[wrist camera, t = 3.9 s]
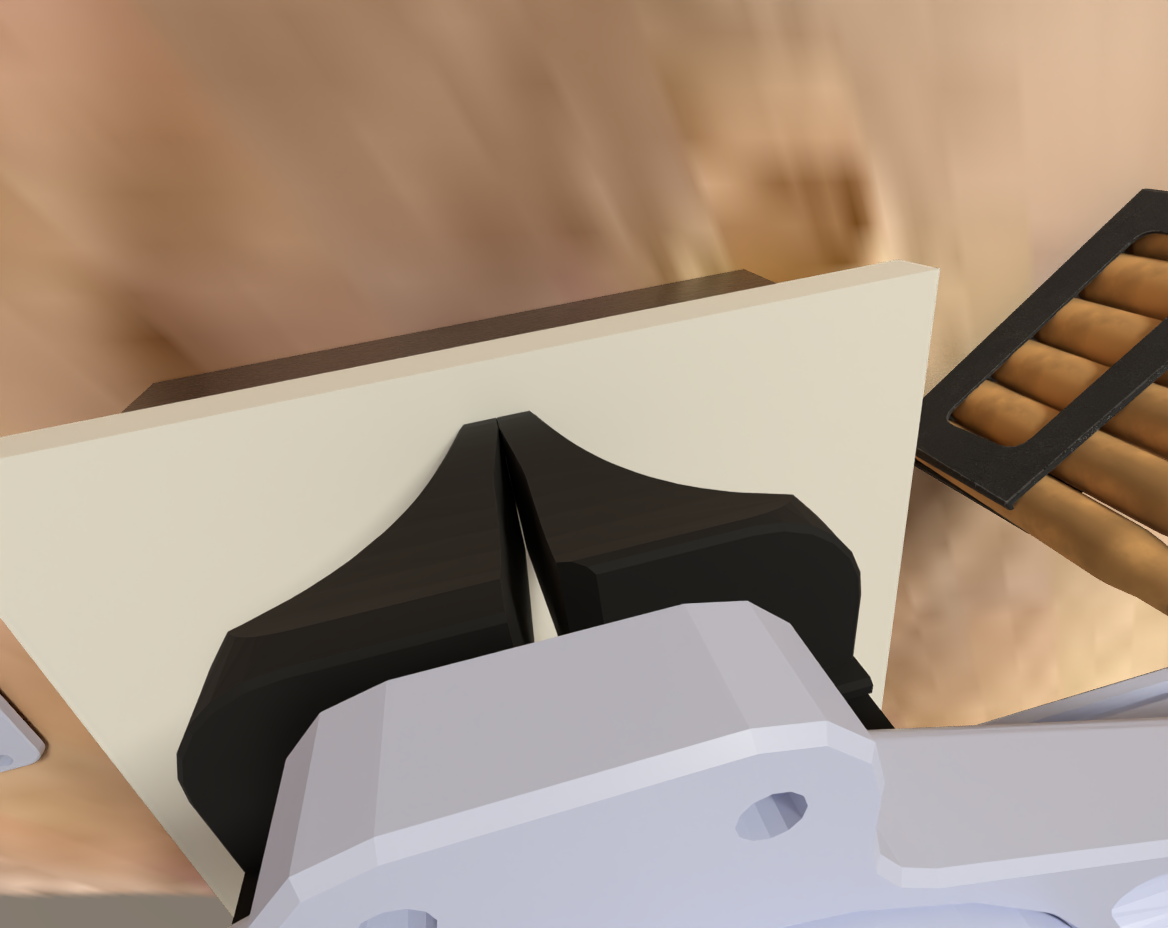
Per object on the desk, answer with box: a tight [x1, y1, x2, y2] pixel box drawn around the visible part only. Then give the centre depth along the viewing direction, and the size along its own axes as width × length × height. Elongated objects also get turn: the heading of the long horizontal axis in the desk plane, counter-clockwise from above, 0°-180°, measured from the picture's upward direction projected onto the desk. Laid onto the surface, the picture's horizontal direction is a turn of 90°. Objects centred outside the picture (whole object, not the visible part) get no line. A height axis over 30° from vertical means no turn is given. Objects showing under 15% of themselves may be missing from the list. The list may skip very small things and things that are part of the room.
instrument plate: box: [0, 260, 940, 918], centre depth 13 cm, size 18×16×5 cm
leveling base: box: [122, 269, 777, 413], centre depth 18 cm, size 16×14×5 cm
